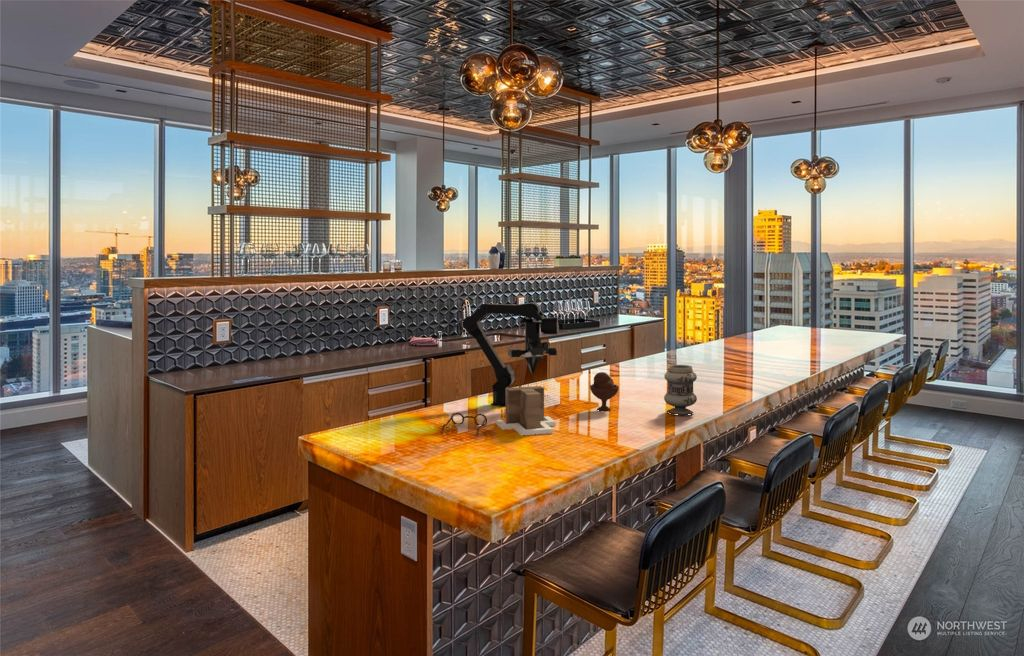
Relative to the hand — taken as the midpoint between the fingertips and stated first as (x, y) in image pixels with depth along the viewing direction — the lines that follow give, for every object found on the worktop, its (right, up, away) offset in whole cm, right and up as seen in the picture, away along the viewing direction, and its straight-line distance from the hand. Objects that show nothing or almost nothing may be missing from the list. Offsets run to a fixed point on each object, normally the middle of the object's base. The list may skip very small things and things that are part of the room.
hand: (532, 373), depth 259 cm
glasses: (-25, -18, -35) cm, 46 cm away
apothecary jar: (+55, -14, -13) cm, 59 cm away
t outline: (-2, -17, -33) cm, 37 cm away
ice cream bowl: (+27, -14, -7) cm, 32 cm away
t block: (-2, -17, -32) cm, 36 cm away
